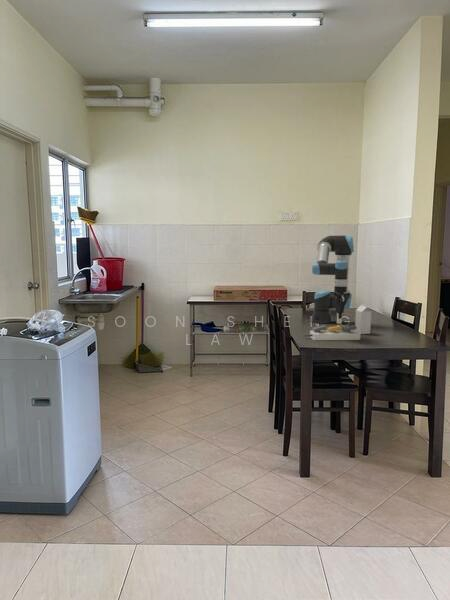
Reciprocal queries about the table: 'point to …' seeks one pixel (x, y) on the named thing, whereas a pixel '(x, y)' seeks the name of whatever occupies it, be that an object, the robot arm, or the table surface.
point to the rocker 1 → (319, 328)
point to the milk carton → (363, 320)
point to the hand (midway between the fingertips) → (339, 323)
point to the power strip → (335, 335)
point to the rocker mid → (334, 328)
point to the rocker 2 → (349, 328)
